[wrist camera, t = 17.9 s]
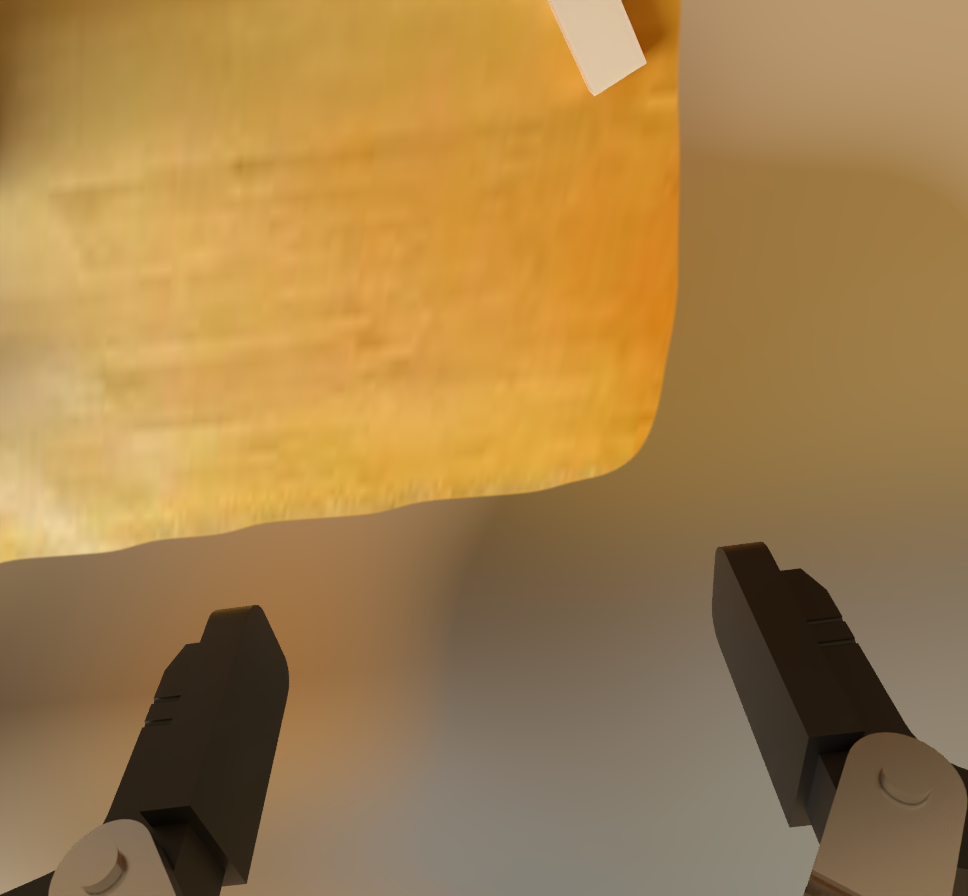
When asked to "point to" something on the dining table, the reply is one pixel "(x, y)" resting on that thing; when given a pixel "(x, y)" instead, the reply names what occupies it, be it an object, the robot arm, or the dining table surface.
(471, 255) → the dining table surface
